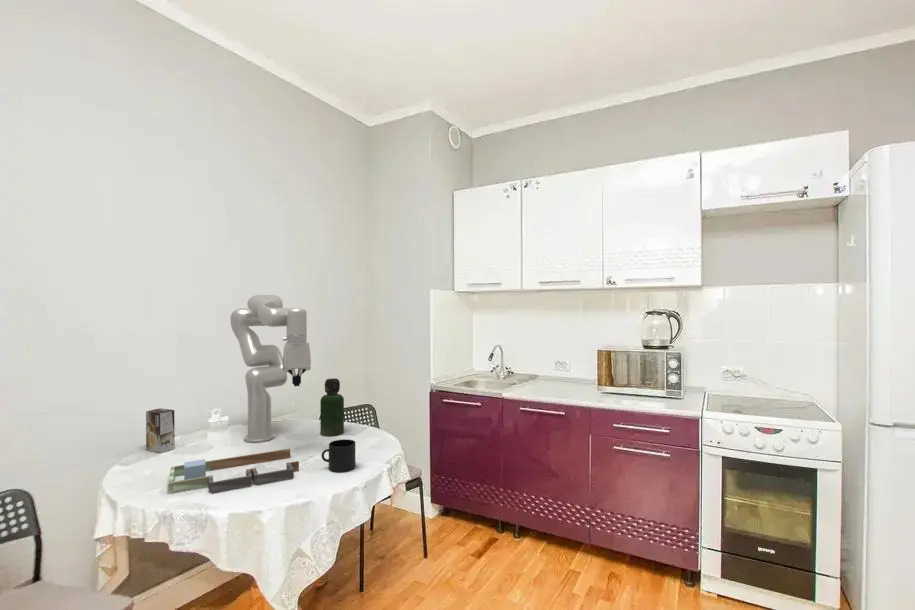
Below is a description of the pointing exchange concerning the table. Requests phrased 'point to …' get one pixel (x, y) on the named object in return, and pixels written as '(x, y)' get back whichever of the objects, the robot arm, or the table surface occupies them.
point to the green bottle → (332, 409)
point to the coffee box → (160, 430)
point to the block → (194, 469)
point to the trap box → (235, 482)
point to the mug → (341, 455)
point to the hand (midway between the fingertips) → (296, 385)
